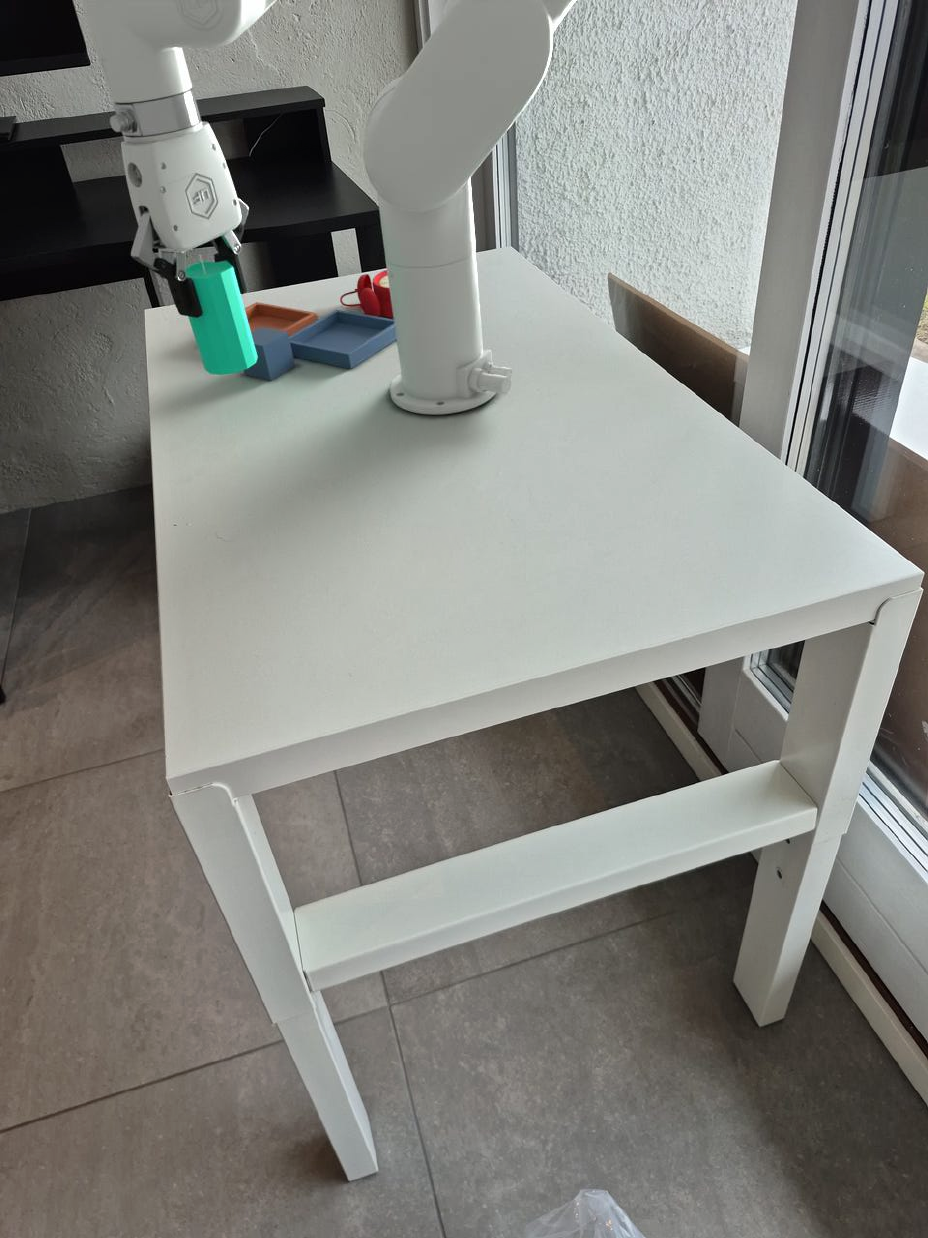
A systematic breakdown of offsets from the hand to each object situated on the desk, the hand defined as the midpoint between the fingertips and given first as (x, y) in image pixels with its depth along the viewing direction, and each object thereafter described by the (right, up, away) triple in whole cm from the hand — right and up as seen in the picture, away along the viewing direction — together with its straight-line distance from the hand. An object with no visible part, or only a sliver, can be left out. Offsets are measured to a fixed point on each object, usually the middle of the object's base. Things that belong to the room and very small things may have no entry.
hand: (213, 301), depth 97 cm
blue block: (+3, -3, +16) cm, 17 cm away
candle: (+1, -6, +5) cm, 7 cm away
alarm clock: (+18, +9, +29) cm, 35 cm away
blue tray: (+11, +2, +20) cm, 23 cm away
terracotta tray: (0, +4, +25) cm, 26 cm away
